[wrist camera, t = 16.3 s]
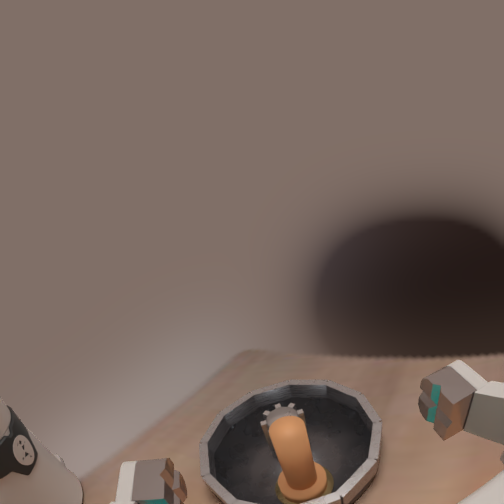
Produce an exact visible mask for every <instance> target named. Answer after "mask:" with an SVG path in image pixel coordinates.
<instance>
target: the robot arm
mask: <svg viewBox="0 0 504 504" xmlns="http://www.w3.org/2000/svg"><path fill="white" fill-rule="evenodd" d="M420 388H421V389H422V390H423V392H422V393H421V395H420V396H419V403H418V405H419V409H420V412H421V414H422V416H423V417H424V418H425V420H426V421H429V422H432V423H434V428H433V429H434V430H435V431H436V433H437V434H438V435H439V436H440V437H441V438H442V440H443V441H444V440H446V439H448V438H450V437H451V436H453V435H455V434H457V433H458V432H460V431H462V430H463V429H464V430H463V431H466V432H469V433H471V434H474V435H477V436H480V437H482V438H485V439H488V440H491V441H494V442H497V443H500V444H503V445H504V383H501V382H495V381H490V382H489V383H488V382H487V381H486V380H485V379H483V378H482V377H481V376H480V375H479V374H477V373H476V372H475V371H474V370H472V369H471V368H470V367H469V366H468V365H466V364H465V363H464V362H463V361H461V360H456V361H455V362H453V363H451V364H449V365H447V366H446V367H443V368H442V369H440V370H438V371H436V372H434V373H432V374H431V375H429V376H427V377H425V378H423V379H422V381H421V385H420ZM500 460H501V461H502V462H503V464H504V451H503V453H502V455H501V458H500ZM82 498H83V492H82V487H81V484H80V481H79V480H78V478H77V477H76V476H75V475H74V474H73V473H72V472H71V471H70V470H68V469H67V468H66V467H65V464H64V461H63V459H62V458H61V457H60V456H59V455H57V454H52V453H51V452H50V451H49V450H48V449H47V448H46V447H45V446H44V445H43V444H42V443H41V442H40V441H39V440H38V438H36V436H35V435H34V434H33V433H32V432H31V431H30V430H28V429H26V427H25V426H24V424H23V423H22V422H21V419H20V418H19V417H18V415H17V414H16V413H15V412H14V411H13V410H12V409H11V408H10V407H9V406H7V405H6V404H5V403H4V402H3V400H2V398H1V397H0V504H82ZM186 498H187V489H186V485H185V481H184V479H183V477H182V475H181V474H180V472H178V471H176V470H174V464H173V462H172V461H171V460H170V458H164V459H154V460H142V461H130V462H123V464H122V465H121V468H120V474H119V480H118V486H117V493H116V500H115V502H111V503H110V504H184V503H183V502H184V501H185V499H186ZM457 504H504V470H503V471H501V472H500V473H499V474H498V475H496V476H495V477H494V478H492V479H491V480H490V481H488V482H487V483H486V484H484V485H483V486H482V487H480V488H479V489H477V490H476V491H475V492H473V493H472V494H470V495H469V496H467V497H466V498H464V499H463V500H461V501H460V502H458V503H457Z"/></svg>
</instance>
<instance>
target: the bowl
mask: <svg viewBox="0 0 504 504" xmlns="http://www.w3.org/2000/svg"><path fill="white" fill-rule="evenodd" d="M251 392H252V393H251ZM251 392H248V393H247V394H246V395H244V396H243V397H241V398H240V399H238V400H237V401H235V402H234V403H232V404H231V405H229V406H228V407H226V408H225V409H223V410H222V411H220V412H219V414H217V416H216V417H215V419H214V420H213V422H212V423H211V425H210V427H209V428H208V430H207V431H206V433H205V434H204V436H203V438H202V439H201V441H200V444H199V451H200V469H201V477H202V479H203V480H204V482H205V483H206V485H207V486H208V487H209V489H210V490H211V491H212V492H213V493H214V494H215V495H216V496H217V497H218V498H219V499H220V501H221V502H222V503H223V504H297V503H293V502H290V501H288V500H287V499H285V498H284V496H283V495H282V493H281V491H280V488H279V486H278V478H279V475H280V473H281V472H282V471H283V470H282V468H281V465H280V462H279V460H278V457H277V454H276V451H275V449H274V446H273V443H272V440H271V438H270V435H269V428H270V426H271V424H272V423H273V422H274V421H276V420H277V419H279V418H281V417H285V416H296V417H299V418H301V419H302V420H303V421H304V423H305V426H306V431H307V435H308V439H309V443H310V448H311V452H312V456H313V461H314V462H316V463H318V464H320V465H321V466H322V467H323V468H324V470H325V472H326V477H327V488H326V490H325V492H324V493H323V495H322V496H321V497H319V498H316V499H313V500H310V501H307V502H304V503H300V504H353V503H354V502H355V501H356V500H358V499H359V498H360V497H361V496H362V494H363V493H364V492H365V491H366V489H367V488H368V487H369V485H370V484H371V482H372V480H373V478H374V476H375V474H376V471H377V470H378V464H379V459H380V447H381V438H382V420H381V418H380V417H379V416H378V414H377V413H376V411H375V410H374V409H373V407H372V406H371V404H370V403H369V402H368V400H367V399H366V397H365V396H364V395H363V394H362V393H361V392H358V391H356V390H353V389H350V388H348V387H345V386H343V385H340V384H338V383H336V382H333V381H331V380H329V381H328V380H290V381H289V380H286V381H283V382H280V383H277V384H273V385H270V386H267V387H263V388H260V389H256V390H253V391H251Z"/></svg>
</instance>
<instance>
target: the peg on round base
mask: <svg viewBox="0 0 504 504" xmlns="http://www.w3.org/2000/svg"><path fill="white" fill-rule="evenodd" d="M269 435H270V438H271V440H272V443H273V446H274V449H275V451H276V454H277V457H278V460H279V462H280V465H281V468H282V470H283V471H282V472H281V473H280V475H279V478H278V486H279V488H280V491H281V493H282V495H283V496H284V498H285V499H287V500H288V501H290V502H293V503H297V504H300V503H304V502H307V501H310V500H313V499H316V498H319V497H321V496H322V495H323V493H324V492H325V490H326V488H327V477H326V472H325V470H324V468H323V467H322V466H321V465H320V464H318V463H316V462H314V461H313V456H312V452H311V448H310V443H309V439H308V435H307V431H306V426H305V423H304V421H303V420H302V419H301V418H299V417H296V416H285V417H281V418H279V419H277V420H276V421H274V422H273V423H272V424H271V426H270V428H269Z"/></svg>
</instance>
